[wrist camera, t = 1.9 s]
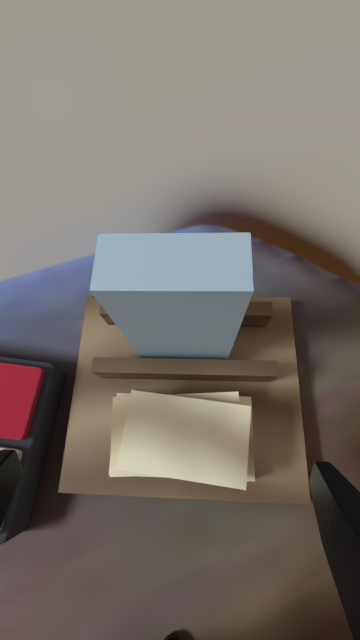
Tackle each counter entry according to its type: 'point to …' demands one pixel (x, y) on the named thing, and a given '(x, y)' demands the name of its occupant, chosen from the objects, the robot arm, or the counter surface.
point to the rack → (187, 378)
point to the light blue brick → (175, 290)
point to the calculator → (27, 428)
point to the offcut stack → (183, 437)
